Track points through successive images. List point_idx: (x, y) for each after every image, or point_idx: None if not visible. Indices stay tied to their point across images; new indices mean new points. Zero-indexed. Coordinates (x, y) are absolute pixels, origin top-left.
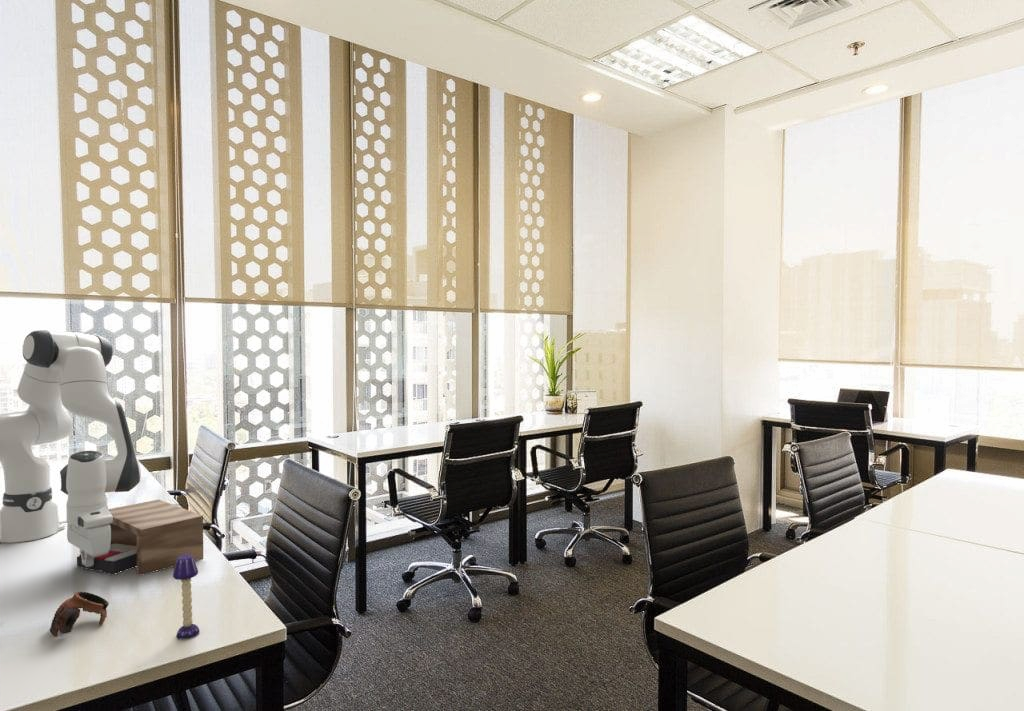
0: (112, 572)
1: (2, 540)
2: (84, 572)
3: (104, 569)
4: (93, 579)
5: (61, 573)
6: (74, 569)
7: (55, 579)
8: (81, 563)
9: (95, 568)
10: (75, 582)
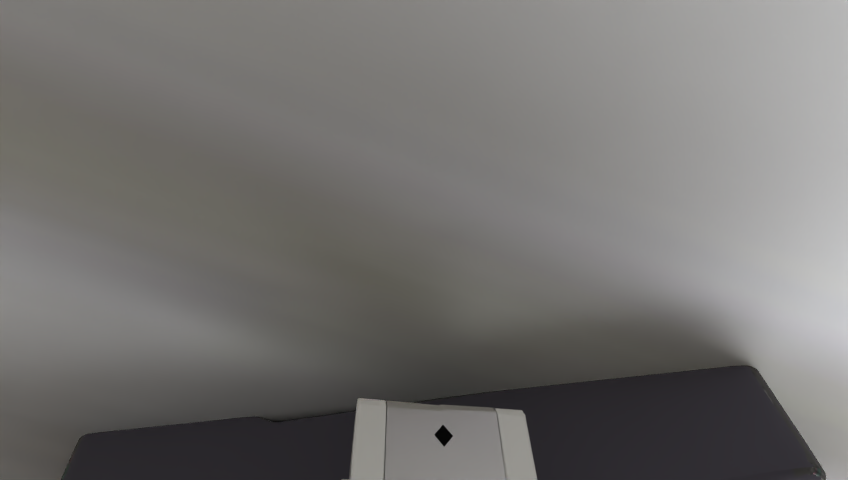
0: (79, 454)
1: None
2: (441, 329)
3: (211, 453)
4: (55, 285)
5: (709, 173)
6: (677, 314)
7: (532, 5)
8: (674, 417)
9: None
10: (100, 117)
